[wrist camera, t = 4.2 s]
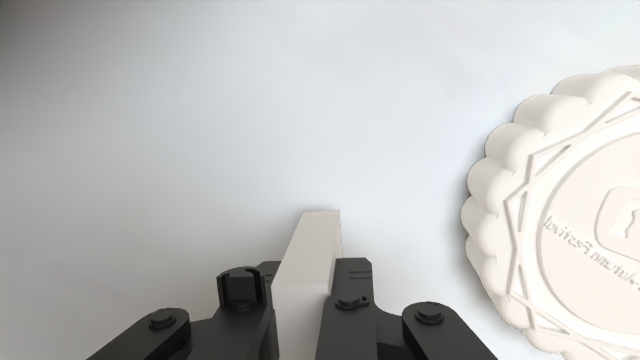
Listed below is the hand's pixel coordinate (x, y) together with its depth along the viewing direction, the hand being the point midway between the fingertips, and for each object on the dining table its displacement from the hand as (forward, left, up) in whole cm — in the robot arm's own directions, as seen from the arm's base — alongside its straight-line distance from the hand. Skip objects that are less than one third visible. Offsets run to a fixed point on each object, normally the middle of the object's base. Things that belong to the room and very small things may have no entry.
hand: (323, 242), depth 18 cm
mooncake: (+12, 0, -2) cm, 12 cm away
